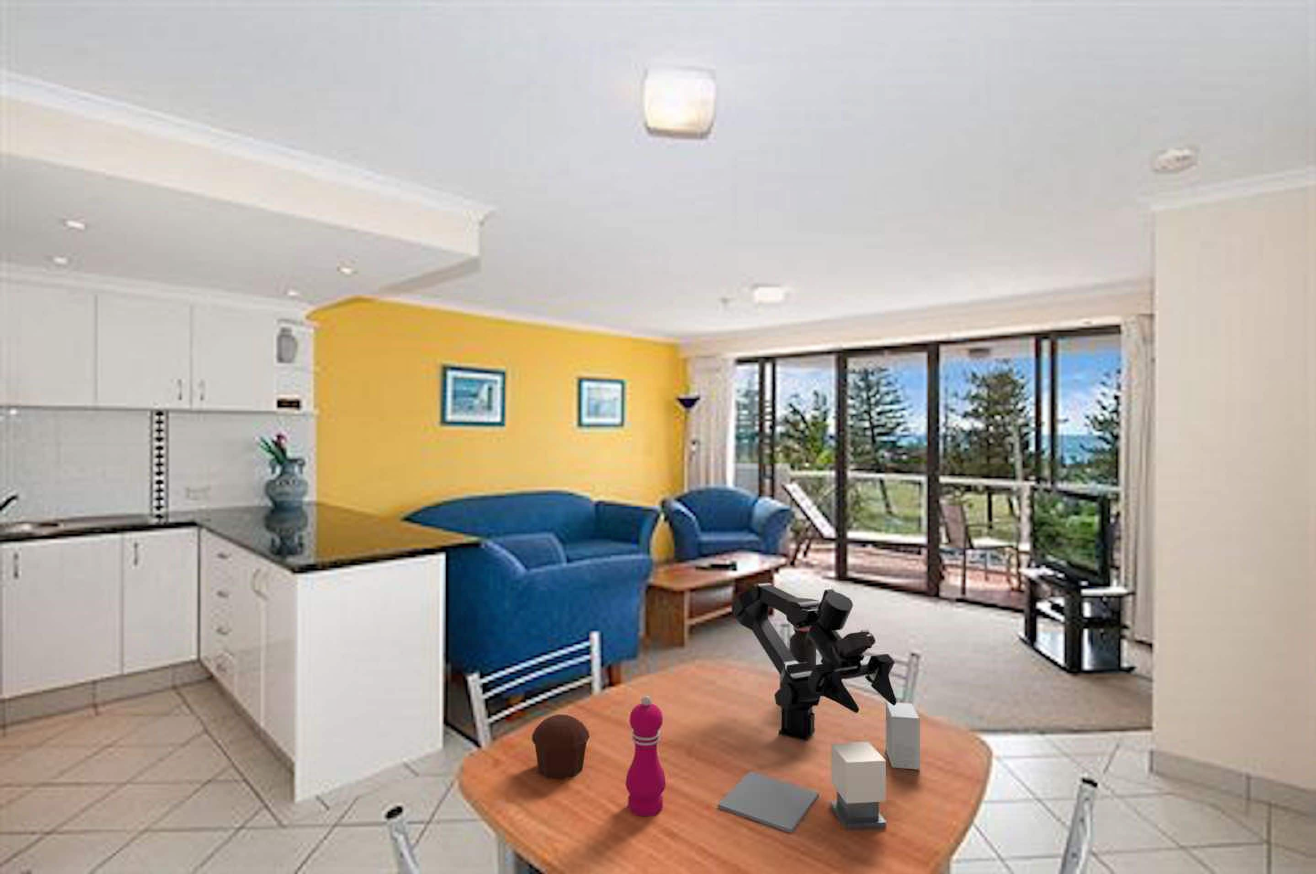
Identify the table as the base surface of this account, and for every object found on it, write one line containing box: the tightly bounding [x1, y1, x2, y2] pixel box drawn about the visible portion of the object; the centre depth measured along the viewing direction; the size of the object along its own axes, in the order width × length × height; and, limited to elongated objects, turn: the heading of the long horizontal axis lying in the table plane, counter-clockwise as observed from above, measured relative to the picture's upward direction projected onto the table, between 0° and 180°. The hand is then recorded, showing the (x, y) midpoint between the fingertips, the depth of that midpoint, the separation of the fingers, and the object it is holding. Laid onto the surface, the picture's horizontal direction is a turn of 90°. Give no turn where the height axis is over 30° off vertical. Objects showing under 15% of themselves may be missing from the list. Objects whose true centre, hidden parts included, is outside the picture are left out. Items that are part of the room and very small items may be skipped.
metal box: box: [829, 790, 887, 831], centre depth 115 cm, size 7×7×8 cm
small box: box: [885, 701, 921, 771], centre depth 135 cm, size 8×6×10 cm
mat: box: [717, 771, 820, 834], centre depth 119 cm, size 14×14×1 cm
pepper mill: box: [625, 695, 667, 817], centre depth 117 cm, size 7×7×20 cm
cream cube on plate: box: [830, 741, 887, 804], centre depth 115 cm, size 7×7×7 cm
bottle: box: [789, 625, 817, 669], centre depth 168 cm, size 7×7×20 cm
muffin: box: [531, 714, 591, 781], centre depth 131 cm, size 12×11×10 cm
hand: (876, 707), depth 124 cm, fingers open, 9 cm apart
